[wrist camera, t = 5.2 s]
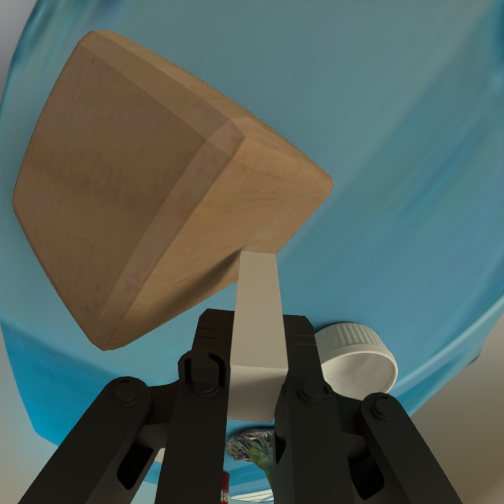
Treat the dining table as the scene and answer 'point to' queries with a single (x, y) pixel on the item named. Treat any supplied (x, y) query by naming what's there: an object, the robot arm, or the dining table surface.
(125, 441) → the robot arm
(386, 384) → the ramekin
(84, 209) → the wooden block
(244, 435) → the tree stump
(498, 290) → the dining table surface
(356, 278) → the dining table surface
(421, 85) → the dining table surface
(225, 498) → the soda can
